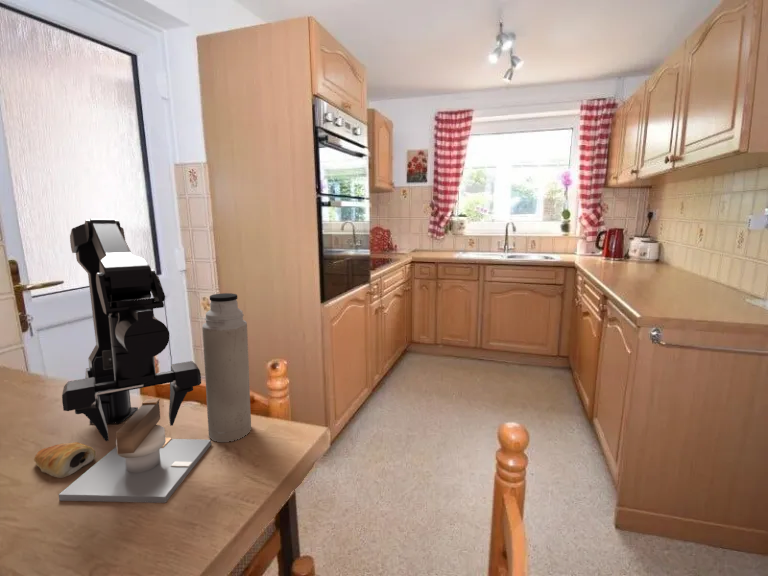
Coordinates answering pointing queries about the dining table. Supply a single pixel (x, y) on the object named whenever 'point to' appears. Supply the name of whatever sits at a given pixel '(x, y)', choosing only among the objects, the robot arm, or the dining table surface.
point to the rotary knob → (141, 432)
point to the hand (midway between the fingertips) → (140, 432)
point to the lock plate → (138, 474)
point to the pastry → (64, 458)
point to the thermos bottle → (226, 369)
